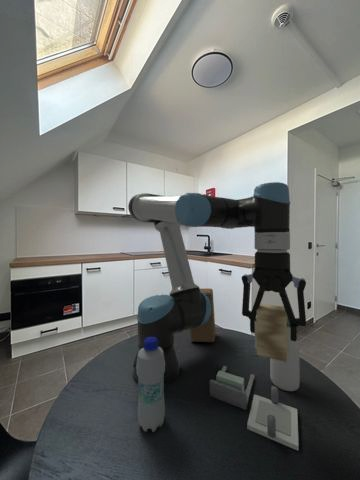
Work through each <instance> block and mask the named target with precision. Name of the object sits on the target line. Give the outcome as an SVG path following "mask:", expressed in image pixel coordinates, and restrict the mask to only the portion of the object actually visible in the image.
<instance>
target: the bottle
mask: <svg viewBox="0 0 360 480" xmlns="http://www.w3.org/2000/svg"><path fill="white" fill-rule="evenodd" d="M136 369H137V376H138V382H137V389H138V391H137V392H138V393H137V395H138V401H137V421H138V425H139V426H140V427H141V428H142V430H143V432H146V433H147V432H148V431H149V429H150V430H151V431H152V433H154V432H156V430H157V429H158V428H161V427H162V426H163V424H164V421H165V415H166V406H165V405H166V404H165V388H164V387H165V386H164V372H165V360H164V353H163V350H162V348H160V347H158V340H157V338H156V337H148V338H146V339H145V340H144V348H142V349H141V350H140V351H139V352H138V358H137V365H136Z"/></svg>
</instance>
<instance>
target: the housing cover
mask: <svg viewBox="0 0 360 480" xmlns="http://www.w3.org/2000/svg"><path fill="white" fill-rule="evenodd" d="M215 381H218V382H220V383H223V384H226V385H229V386H232V387H235V388H238V389H241V390H244V391H245V378H244V377H241V376H238V375H235V374H231V373H228V372H227V371H226V372H223V371H221V370H218V372H217V374H216V377H215Z"/></svg>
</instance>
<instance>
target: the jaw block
mask: <svg viewBox="0 0 360 480" xmlns="http://www.w3.org/2000/svg"><path fill="white" fill-rule="evenodd" d="M256 317H257V349H256V355H257V356H261V357H265V358H268V359H270V358H272V359H276V360H280V361H284V362H287V313H286V311H285V308H284V305H273V304H267V303H261V304H260V306H259V308H258V309H257V315H256Z"/></svg>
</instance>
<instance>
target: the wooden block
mask: <svg viewBox="0 0 360 480" xmlns="http://www.w3.org/2000/svg"><path fill="white" fill-rule="evenodd" d="M200 292H203V293H205V294H206V296H207V297H208V298H209V300H210V304H211V315H210V317H209V320H208V321H207V322H206V323H205V324H203V325H200V326H199V327H196V328H192V329H189V339H190V341H191V342H198V343H199V342H201V343H213V342H215V341H216V340H215V338H216V322H215V321H216V320H215V306H214V305H215V304H214V302H215V301H214V290H213V288H200Z"/></svg>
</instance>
